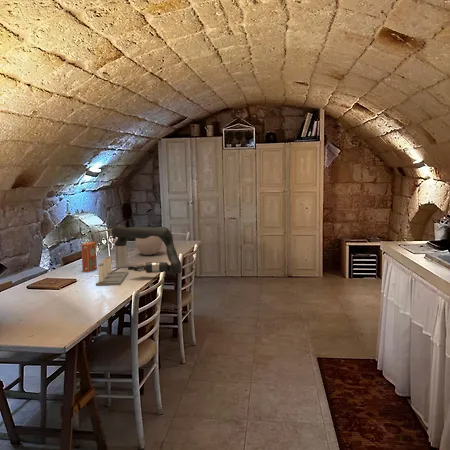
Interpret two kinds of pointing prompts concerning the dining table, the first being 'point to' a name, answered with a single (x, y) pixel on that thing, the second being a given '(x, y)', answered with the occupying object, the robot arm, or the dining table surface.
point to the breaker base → (110, 275)
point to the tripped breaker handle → (105, 268)
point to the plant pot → (149, 245)
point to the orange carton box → (89, 256)
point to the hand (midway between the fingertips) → (128, 268)
